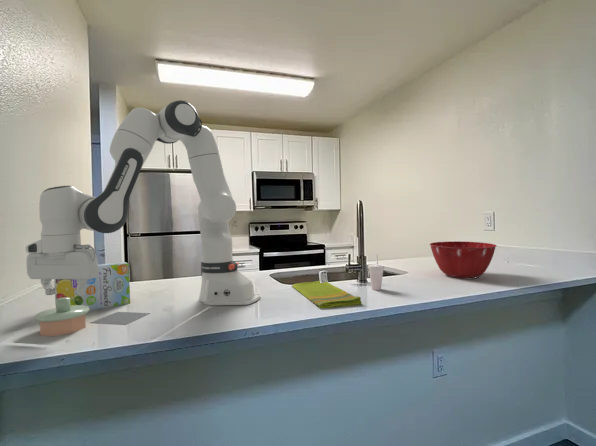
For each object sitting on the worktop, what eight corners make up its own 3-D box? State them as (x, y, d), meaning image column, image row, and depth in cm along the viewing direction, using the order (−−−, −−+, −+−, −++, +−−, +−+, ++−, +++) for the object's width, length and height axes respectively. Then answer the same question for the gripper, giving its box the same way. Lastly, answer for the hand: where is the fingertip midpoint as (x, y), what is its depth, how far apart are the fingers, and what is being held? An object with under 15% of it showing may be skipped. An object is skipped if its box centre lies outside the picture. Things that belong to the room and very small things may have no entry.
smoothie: (386, 290, 130) (385, 255, 130) (370, 291, 130) (369, 255, 130) (382, 287, 137) (381, 253, 136) (366, 287, 137) (366, 254, 136)
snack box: (126, 302, 121) (125, 261, 121) (130, 305, 117) (129, 262, 116) (55, 314, 108) (53, 268, 107) (56, 317, 103) (54, 270, 103)
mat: (150, 315, 104) (150, 313, 104) (125, 326, 93) (125, 324, 93) (117, 313, 106) (117, 311, 106) (89, 324, 96) (89, 322, 96)
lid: (99, 309, 95) (98, 293, 95) (62, 322, 84) (61, 305, 84) (64, 307, 98) (64, 292, 98) (23, 320, 86) (23, 303, 86)
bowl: (94, 325, 95) (93, 310, 95) (62, 338, 85) (62, 321, 85) (65, 324, 97) (64, 308, 97) (31, 336, 87) (30, 319, 87)
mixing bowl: (503, 283, 139) (502, 247, 139) (430, 280, 149) (430, 246, 149) (490, 272, 166) (490, 241, 165) (429, 269, 176) (429, 241, 175)
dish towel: (320, 310, 107) (320, 301, 107) (291, 288, 141) (291, 280, 141) (362, 306, 111) (362, 296, 111) (324, 285, 146) (324, 278, 146)
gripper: (103, 243, 91) (106, 292, 92) (42, 244, 95) (45, 291, 96) (84, 245, 85) (87, 298, 86) (20, 246, 89) (23, 297, 90)
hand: (64, 294), depth 91 cm, fingers open, 8 cm apart
